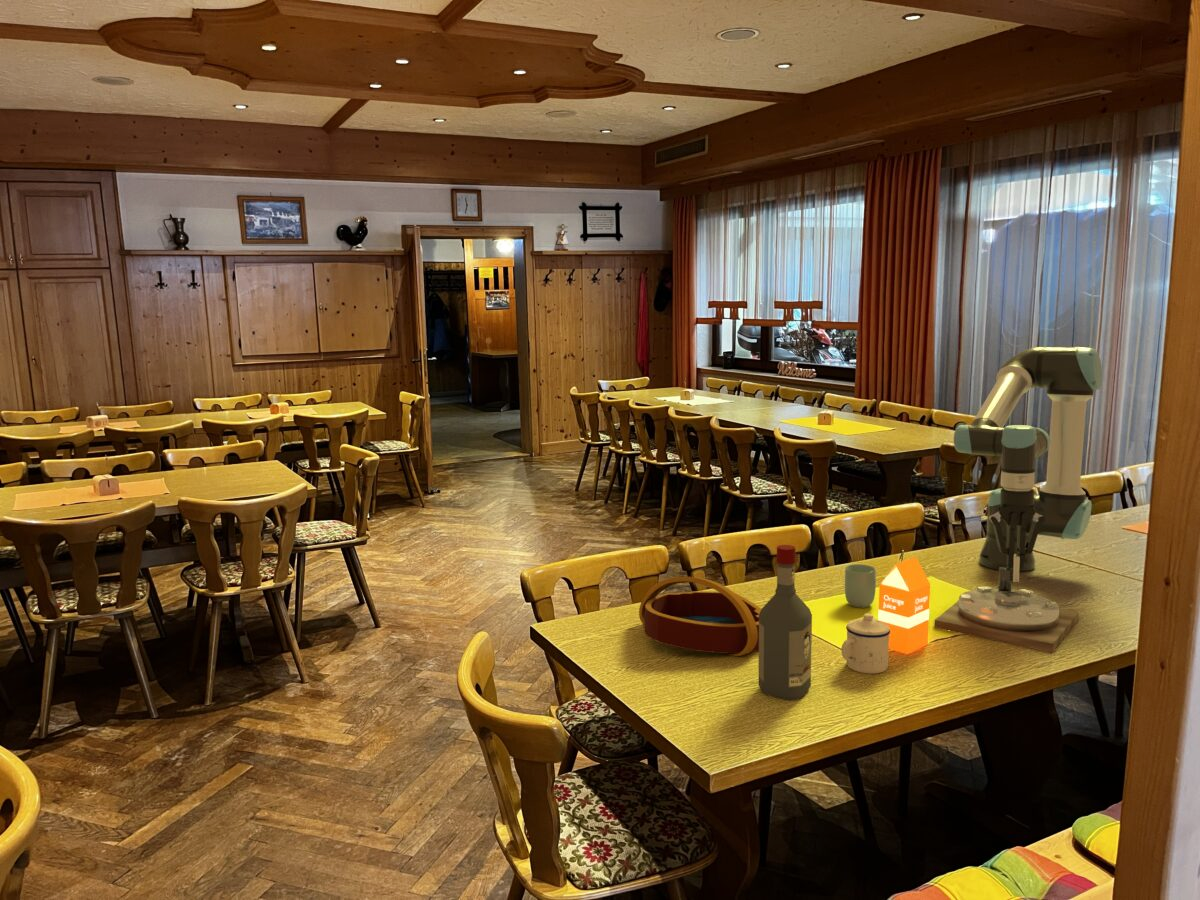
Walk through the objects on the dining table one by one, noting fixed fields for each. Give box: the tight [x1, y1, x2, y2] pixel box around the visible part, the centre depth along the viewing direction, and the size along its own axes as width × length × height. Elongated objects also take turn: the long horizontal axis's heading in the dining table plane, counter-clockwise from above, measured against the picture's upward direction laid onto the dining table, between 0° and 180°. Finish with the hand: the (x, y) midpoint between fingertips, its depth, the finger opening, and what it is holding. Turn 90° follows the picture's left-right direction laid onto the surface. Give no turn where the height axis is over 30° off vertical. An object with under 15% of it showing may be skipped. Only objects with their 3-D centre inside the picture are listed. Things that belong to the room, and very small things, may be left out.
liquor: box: [758, 544, 813, 701], centre depth 175 cm, size 9×9×30 cm
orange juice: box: [877, 556, 931, 655], centre depth 198 cm, size 8×9×20 cm
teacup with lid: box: [840, 613, 890, 675], centre depth 186 cm, size 12×9×12 cm
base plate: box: [933, 600, 1080, 653], centre depth 211 cm, size 26×26×2 cm
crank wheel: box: [958, 567, 1060, 631], centre depth 210 cm, size 22×22×9 cm
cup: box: [844, 563, 877, 609], centre depth 226 cm, size 8×8×10 cm
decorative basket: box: [638, 576, 762, 657], centre depth 206 cm, size 34×29×15 cm
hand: (1014, 580), depth 218 cm, fingers closed
